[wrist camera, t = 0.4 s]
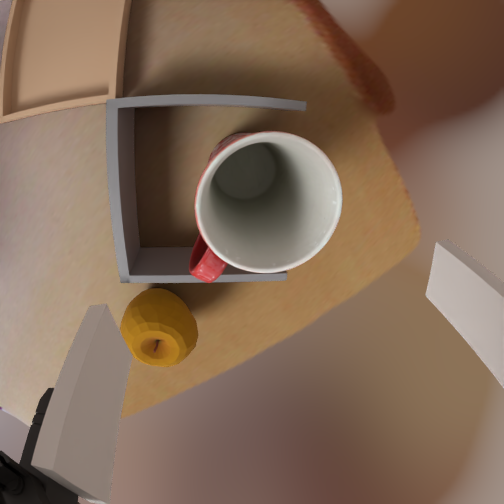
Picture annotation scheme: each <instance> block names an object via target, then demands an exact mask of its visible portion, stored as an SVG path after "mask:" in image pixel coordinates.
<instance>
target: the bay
mask: <svg viewBox="0 0 504 504" xmlns="http://www.w3.org/2000/svg"><path fill="white" fill-rule="evenodd" d="M306 104H307V102H304V101H296V100H288V99H279V98H268V97H256V96H241V95H215V94H178V95H153V96H138V97H126V98H116V99H108V100H106V153H107V174H108V189H109V201H110V211H111V220H112V229H113V237H114V244H115V251H116V258H117V264H118V270H119V276H120V282H121V283H201V282H204V281H201V280H199V279H197V278H195V277H194V276H192V275H191V273H190V272H189V261H190V257H191V253H192V250H193V247H140V239H139V229H138V217H137V203H136V185H135V157H134V113H135V108H146V107H167V106H228V107H248V108H263V109H275V110H285V111H306ZM286 279H287V272H286V270H285V271H281V272H275V273H256V272H250V271H246V270H242V269H239V268H237V267H235V266H232V265H230V264H229V263H228V265H227V266H226V268H225V269H224V271H223V273H222V274H221V275H220V276H219V277H218V278H217V279H216V280H215V281H213V282H250V281H283V280H286Z"/></svg>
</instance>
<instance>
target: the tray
mask: <svg viewBox="0 0 504 504" xmlns="http://www.w3.org/2000/svg"><path fill="white" fill-rule="evenodd" d="M131 4H132V0H13V1H12V5H11V9H10V13H9V18H8V23H7V28H6V33H5V39H4V45H3V52H2V60H1V69H0V124H1V123H6V122H11V121H15V120H19V119H23V118H27V117H31V116H35V115H40V114H45V113H49V112H54V111H60V110H65V109H71V108H77V107H83V106H90V105H97V104H105V103H106V100H108V99H116V98H123V78H124V63H125V51H126V41H127V33H128V25H129V17H130V10H131Z"/></svg>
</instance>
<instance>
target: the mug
mask: <svg viewBox="0 0 504 504" xmlns="http://www.w3.org/2000/svg"><path fill="white" fill-rule="evenodd" d="M342 201H343V200H342V188H341V183H340V179H339V176H338V174H337V171H336V169H335V167H334V166H333V164H332V162H331V161H330V159H329V158H328V157H327V155H326V154H325V153H324V152H323V151H322V150H321V149H320V148H319V147H317V146H316V145H315V144H313V143H312V142H310V141H309V140H307V139H305V138H303V137H300V136H298V135H295V134H292V133H287V132H281V131H262V132H256V133H237V134H233V135H230V136H228V137H226V138H225V139H223V140H222V141H221V142H219V143H218V144H217V146H216V147H215V148H214V150H213V151H212V153H211V155H210V158H209V161H208V165H207V167H206V168H205V170H204V172H203V174H202V175H201V177H200V180H199V183H198V186H197V189H196V194H195V217H196V222H197V226H198V229H199V231H200V232H199V234H198V237H197V239H196V241H195V244H194V247H193V250H192V253H191V257H190V261H189V272H190V273H191V275H192V276H194V277H195V278H197V279H199V280H201V281H204V282H207V283H211V282H213V281H215V280H216V279H217V278H218V277H219V276H220V275H221V274H222V273H223V271H224V269H225V268H226V266H227V265H228V263H229V264H230V265H232V266H235V267H237V268H239V269H242V270H246V271H250V272H256V273H275V272H281V271H285V270H288V269H291V268H294V267H297V266H299V265H301V264H302V263H304V262H306V261H308V260H309V259H310V258H312V257H313V256H314V255H316V254H317V253H318V252H319V251H320V250H321V249H322V248H323V247H324V246H325V244H326V243H327V242H328V241H329V239H330V238H331V236H332V234H333V232H334V230H335V228H336V226H337V224H338V221H339V218H340V215H341V210H342Z"/></svg>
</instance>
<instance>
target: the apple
mask: <svg viewBox="0 0 504 504" xmlns="http://www.w3.org/2000/svg"><path fill="white" fill-rule="evenodd" d="M120 329H121V334H122V337H123V338H124V340H125V342H126V344H127V346H128V348H129V350H130V352H131V354H132V355H133V357H134V358H136V359H137V360H139V361H140V362H142V363H145V364H148V365H151V366H161V367H170V366H173V365H176V364H179V363H180V362H181V361H183V360H184V359H185V358H186V357H187V356H188V355H189V354H190V353H191V351H192V350H193V349H194V347H195V346H196V342H197V338H198V330H197V323H196V320H195V318H194V317H193V315H192V313H191V312H190V310H189V308H188V307H187V305H186V304H185V303H184V302H183V301H182V300H181V298H179V297H178V296H177V295H175V294H174V293H172V292H170V291H168V290H166V289H162V288H154V289H148V290H145V291H143V292H142V293H140V294H139V295H138V296H136V297H135V298H134V299H133V300H132V301H131V302H130V303H129V305H128V306H127V308H126V311H125V313H124V316H123V319H122V322H121V327H120Z"/></svg>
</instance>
